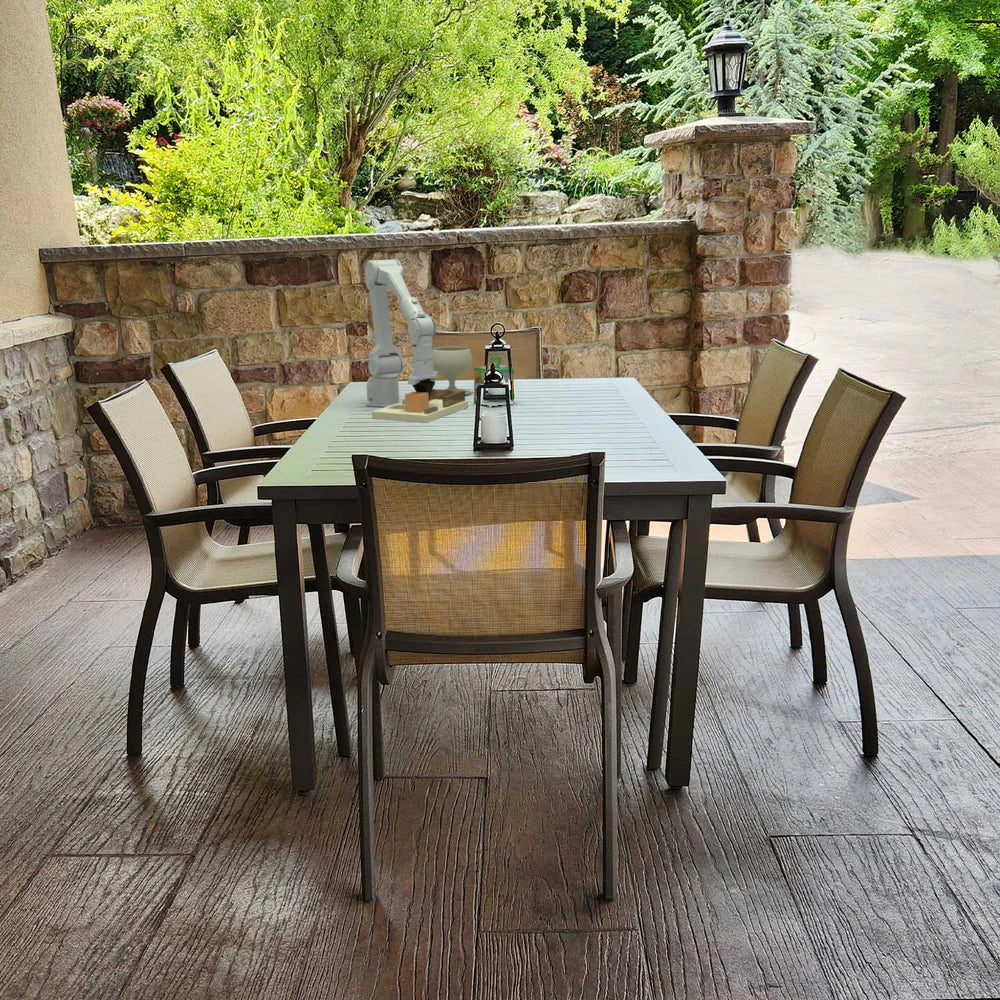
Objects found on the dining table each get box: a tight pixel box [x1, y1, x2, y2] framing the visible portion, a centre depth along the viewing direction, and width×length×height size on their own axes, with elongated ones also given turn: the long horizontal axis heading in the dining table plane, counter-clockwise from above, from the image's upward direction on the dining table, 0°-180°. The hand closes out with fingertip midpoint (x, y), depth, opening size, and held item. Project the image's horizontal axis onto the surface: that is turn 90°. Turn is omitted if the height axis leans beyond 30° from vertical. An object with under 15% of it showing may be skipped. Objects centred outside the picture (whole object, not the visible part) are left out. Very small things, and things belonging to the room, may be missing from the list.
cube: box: [404, 391, 429, 413], centre depth 291 cm, size 5×5×5 cm
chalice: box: [432, 345, 474, 396], centre depth 329 cm, size 14×14×15 cm
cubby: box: [429, 388, 466, 408], centre depth 303 cm, size 11×12×3 cm
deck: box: [371, 399, 469, 424], centre depth 299 cm, size 18×26×2 cm
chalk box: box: [473, 355, 515, 405], centre depth 310 cm, size 9×9×15 cm
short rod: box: [424, 406, 438, 414], centre depth 288 cm, size 1×6×1 cm, turn 155°
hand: (424, 405), depth 295 cm, fingers closed
